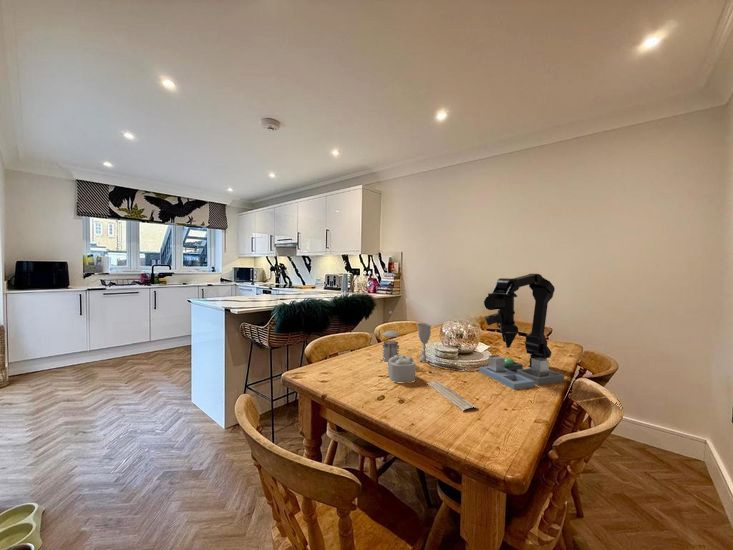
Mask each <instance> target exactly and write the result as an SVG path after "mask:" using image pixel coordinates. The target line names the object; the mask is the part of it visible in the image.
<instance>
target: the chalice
mask: <svg viewBox="0 0 733 550" xmlns="http://www.w3.org/2000/svg"><path fill="white" fill-rule="evenodd" d="M417 327H418V331H417V332H418V338H419V341H420V342H421V344H422V352H423V353H422V355H420V358H419V360H422V361H426V356H427V355H426V352H427V351H426V344H428V342H429V340H430V337H431V329H432V324H431V323H425V322H421V323H417Z"/></svg>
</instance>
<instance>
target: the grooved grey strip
mask: <svg viewBox="0 0 733 550" xmlns="http://www.w3.org/2000/svg"><path fill="white" fill-rule="evenodd" d="M427 384H428V385H429V386H430V387H429V386H428V385H427ZM426 385H427V386H428V387H429V388H431V387H432V388H433V389H434V390H436V391H437V392H438V393H440V394H441V395H442V396H444V397H445V398H446V399H448V400H449V401H450V402H451V404H452V405H453V404H454V405H455V406H456V408H457V407H458V408H459V409H460V410H459V409H458V408H457V409H458V410H459V411H461V410H462V411H463V412H464V411H465V410H467V409H468V410H469V409H471V408H473V407H474V408H473V409H475V408H476V409H475V410H479V407H478V406H476V405H474V404H473V403H471V402H470V401H468V400H467V399H466V398H464V397H463V396H461V395H460V394H458V393H457V392H456V391H454V390H453V389H451V388H450V387H448V386H447V385H445V384H444V383H442V382H441V381H438V380H437V381H436V380H432V381H429V382H427V383H426ZM432 388H431V389H432ZM433 389H432V390H433ZM434 390H433V391H434ZM436 391H435V392H436ZM437 392H436V393H437ZM438 393H437V394H438ZM440 394H439V395H440ZM441 395H440V396H441ZM442 396H441V397H442ZM444 397H443V398H444ZM445 398H444V399H445ZM446 399H445V400H446ZM448 400H447V401H448ZM449 401H448V402H449ZM450 402H449V403H450ZM454 405H453V406H454ZM455 406H454V407H455ZM477 408H478V409H477ZM462 411H461V412H462Z"/></svg>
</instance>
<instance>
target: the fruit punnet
mask: <svg viewBox="0 0 733 550" xmlns="http://www.w3.org/2000/svg"><path fill="white" fill-rule="evenodd" d="M387 366H388V367H387V372H388V373H387V374H388V375H387V376H389V377H388V379H389V378H390V379H391V380H392V381H395V382H412V381H414V380H415V381H416V362H415V361H414V359H413V358H412V356H405V354H400V355H399V356H397V355H395V356H394V357H391V358H390V359H389V360H388V365H387ZM390 379H389V380H390ZM391 380H390V381H391ZM392 381H391V382H392Z"/></svg>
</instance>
